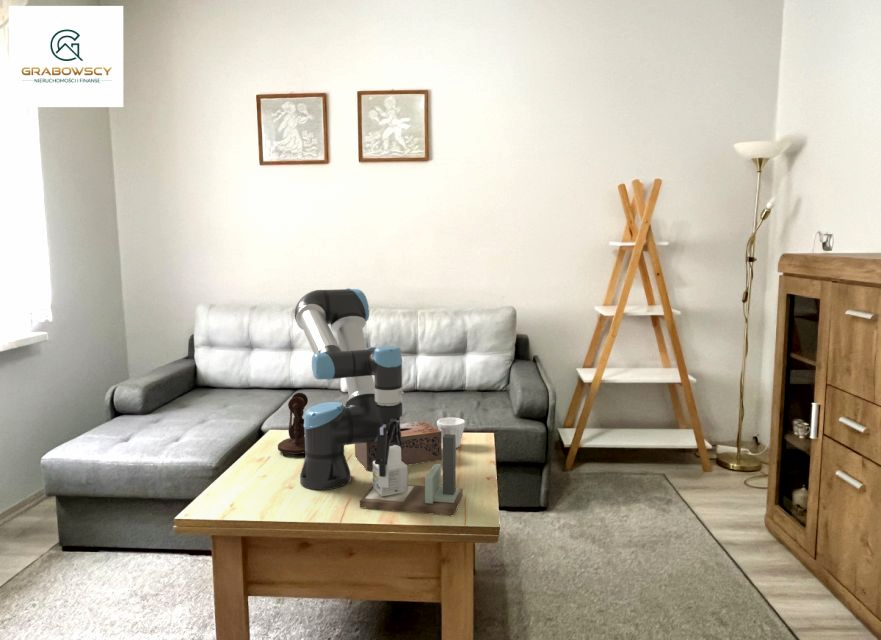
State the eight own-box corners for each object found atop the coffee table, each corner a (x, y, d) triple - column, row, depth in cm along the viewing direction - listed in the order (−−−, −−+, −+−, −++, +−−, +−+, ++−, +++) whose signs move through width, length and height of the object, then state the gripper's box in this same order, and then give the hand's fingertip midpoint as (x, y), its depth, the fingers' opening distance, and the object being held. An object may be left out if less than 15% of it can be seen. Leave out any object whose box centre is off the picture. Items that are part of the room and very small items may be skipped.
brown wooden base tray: (359, 507, 173) (359, 500, 173) (375, 488, 187) (375, 481, 186) (453, 515, 167) (453, 507, 167) (462, 495, 181) (462, 488, 181)
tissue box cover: (425, 448, 225) (425, 420, 223) (441, 460, 211) (441, 431, 210) (355, 457, 215) (354, 429, 213) (367, 471, 201) (366, 441, 200)
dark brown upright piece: (282, 444, 228) (280, 390, 226) (323, 443, 229) (322, 389, 227) (274, 458, 214) (271, 400, 211) (318, 457, 215) (316, 399, 212)
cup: (436, 450, 221) (436, 425, 219) (437, 442, 230) (437, 417, 229) (465, 451, 220) (465, 425, 219) (465, 442, 230) (465, 417, 229)
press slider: (425, 503, 170) (424, 440, 168) (434, 487, 181) (433, 429, 179) (452, 505, 169) (452, 442, 167) (460, 489, 179) (459, 430, 177)
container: (372, 487, 180) (371, 442, 178) (398, 482, 183) (397, 439, 182) (381, 496, 173) (381, 450, 171) (408, 492, 176) (407, 446, 175)
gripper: (389, 413, 163) (390, 496, 166) (412, 393, 185) (413, 466, 188) (361, 412, 165) (363, 494, 167) (387, 392, 187) (388, 464, 190)
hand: (389, 479), depth 178 cm, fingers closed on container, 10 cm apart
